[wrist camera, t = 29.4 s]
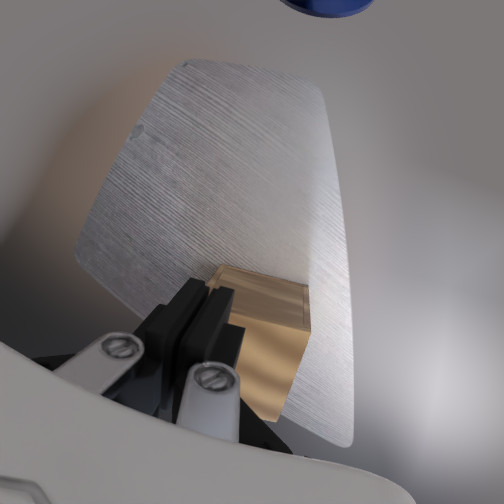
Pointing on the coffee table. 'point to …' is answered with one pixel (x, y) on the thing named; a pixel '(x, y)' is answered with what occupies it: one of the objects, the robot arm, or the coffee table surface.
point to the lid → (268, 361)
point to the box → (265, 295)
